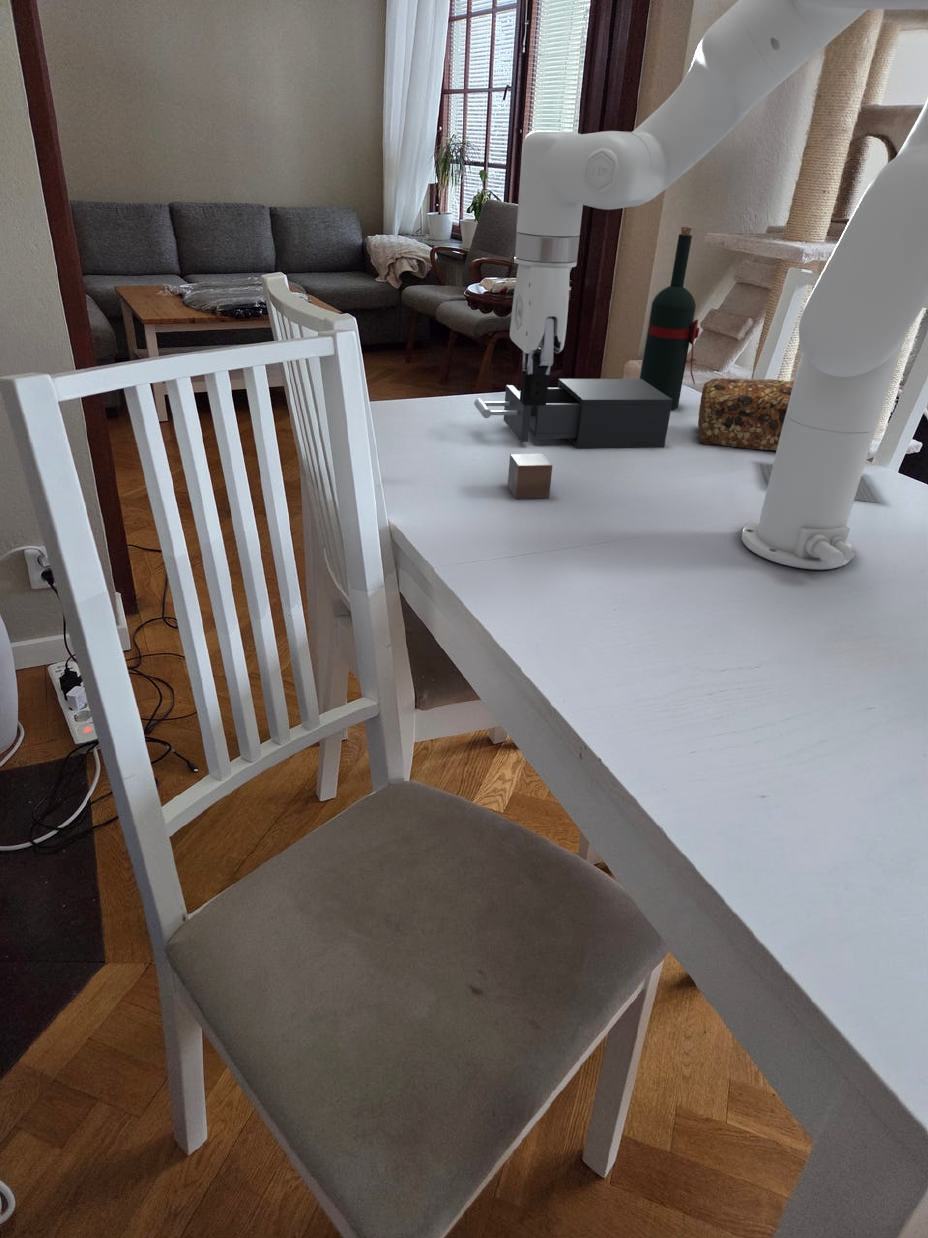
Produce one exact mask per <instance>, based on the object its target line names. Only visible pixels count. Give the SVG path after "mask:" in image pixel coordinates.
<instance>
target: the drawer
mask: <svg viewBox="0 0 928 1238" xmlns="http://www.w3.org/2000/svg"><path fill="white" fill-rule="evenodd" d="M504 394H505V396H504V401H484V400H482V399H481V398H477V399H475V400H474V403H473V404H474V406H475V408H476V409H477V411H478V412H479V413H480V415H481V416H482V417H483V418H484V419H488V418H490V417H491V416H503V422H504V423H505V424H506V425H507V427H508V428H509V429H510V430H511V432H512V434H513V435H514V436H515V437H516V438H517V440H518V441H519V442H520V443H528V442H529V436H530V434H531V435H532V437H533V438H534V439H536V440H540V439H543V440H545V439H549V440H550V439H568V438H577V430H578V422H579V414H580V406H581V403H580V402H579V401H578V400H576V399H575V398H574V397H573V396H572V395H571V394H570V393H568V392H567V391H566V390H565V389H564V388H558V387H548V392H547V403H546V405H544V406H525V405H523V404H522V403H521V401H520V390H518V389H517V388H516V386H515V385H513V384H506V385H505V393H504ZM489 407H503V410H490V408H489Z"/></svg>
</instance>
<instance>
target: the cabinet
mask: <svg viewBox="0 0 928 1238" xmlns="http://www.w3.org/2000/svg"><path fill="white" fill-rule="evenodd" d="M557 388H564V389H565V390H566V391H567V392H568V393H570V394H571V395H572V396H573V397H574V398H575V399H576V400H578V401H579V402H580V403H581V406H580V414H579V422H578V430H577V438H567V440H568V441H569V442H570V443H571V444H572V445H573V446H574V447H575V448H576V449H615V448H616V449H624V448H626V449H627V448H628V449H629V448H631V449H632V448H665V446H666V445H665V444H666V439H667V433H668V428H669V421H670V416H671V411H672V410H671V406H672V405H671V404H672V399H671V398H669V397H668V396H666V395H665V394H663V393H662V392H660V391H659V390H657V389H656V388H654V387H653V386H651V385H650V384H648V383H647V382H645V381H644V380H642V379H639V378H558V383H557Z"/></svg>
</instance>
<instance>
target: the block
mask: <svg viewBox="0 0 928 1238" xmlns="http://www.w3.org/2000/svg"><path fill="white" fill-rule="evenodd" d="M508 464H509V465H508V476H507V488H508V490H509V491H510V493H511V494H512V495H513V497H514V499H516V500H526V499H527V500H528V499H529V500H530V499H531V500H532V499H533V500H535V499H536V500H537V499H550V494H551V493H550V492H551V482H552V475H553V464H552V463H551V462H550V460H549V459H548V458H547V457H546V455H545V454H544V453H509V463H508Z"/></svg>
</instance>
